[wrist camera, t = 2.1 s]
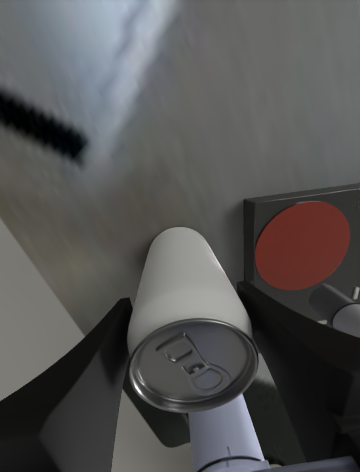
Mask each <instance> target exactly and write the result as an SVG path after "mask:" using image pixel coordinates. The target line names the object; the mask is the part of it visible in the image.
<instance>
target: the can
mask: <svg viewBox="0 0 360 472" xmlns="http://www.w3.org/2000/svg"><path fill="white" fill-rule="evenodd" d="M127 344H128V350H129V355H130V358H131V359H130V362H129V368H128V373H129V379H130V383H131V385H132V387H133V389H134V390H135V392H136V393H137V394H138V395H139V396H140V397H141V398H142V399H143V400H144V401H146V402H147V403H149V404H151V405H153V406H155V407H157V408H160V409H163V410H166V411H171V412H178V413H195V412H202V411H207V410H211V409H214V408H217V407H220V406H222V405H225V404H227V403H229V402H230V401H232V400H234V399H235V398H237V397H238V396H239V395H241V394H242V393H243V392H244V391H245V390H246V389H247V388H248V387H249V385H250V384H251V383H252V381H253V379H254V377H255V375H256V373H257V369H258V353H257V350H256V347H255V345H254V343H253V342H252V327H251V322H250V319H249V316H248V314H247V312H246V310H245V308H244V306H243V304H242V302H241V300H240V298H239V297H238V295H237V293H236V291H235V290H234V288H233V286H232V284H231V283H230V281H229V279H228V277H227V276H226V274H225V272H224V270H223V269H222V267H221V265H220V263H219V262H218V260H217V258H216V257H215V255H214V253H213V251H212V250H211V248H210V246H209V245H208V243H207V241H206V240H205V239H204V237H203V236H202V235H201V234H199V233H198V232H196V231H195V230H193V229H190V228H186V227H174V228H170V229H167V230H165V231H163V232H162V233H160V234H159V235H158V236H157V237H156V238H155V239H154V241H153V242H152V244H151V246H150V249H149V252H148V256H147V259H146V263H145V266H144V270H143V274H142V277H141V281H140V285H139V288H138V292H137V296H136V300H135V303H134V307H133V311H132V315H131V319H130V323H129V328H128V335H127Z"/></svg>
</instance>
